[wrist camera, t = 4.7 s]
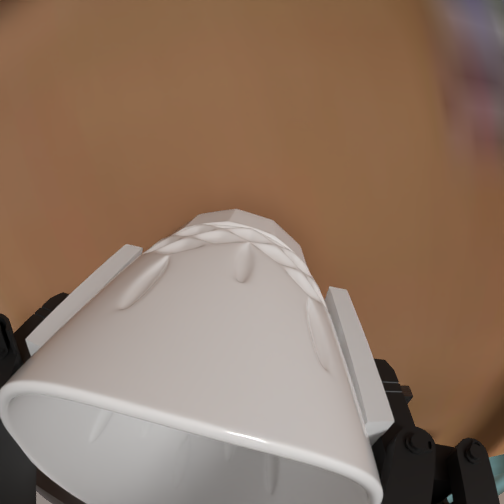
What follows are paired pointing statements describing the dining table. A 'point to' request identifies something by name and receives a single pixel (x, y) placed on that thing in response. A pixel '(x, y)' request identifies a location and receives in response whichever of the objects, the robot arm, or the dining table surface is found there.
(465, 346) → the dining table surface
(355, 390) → the robot arm
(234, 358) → the white cup
